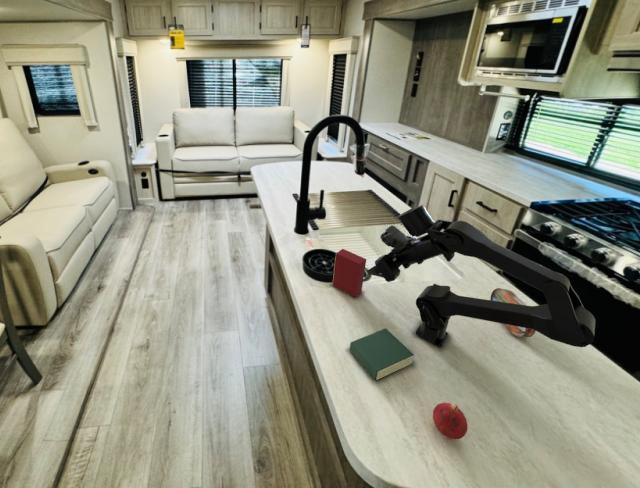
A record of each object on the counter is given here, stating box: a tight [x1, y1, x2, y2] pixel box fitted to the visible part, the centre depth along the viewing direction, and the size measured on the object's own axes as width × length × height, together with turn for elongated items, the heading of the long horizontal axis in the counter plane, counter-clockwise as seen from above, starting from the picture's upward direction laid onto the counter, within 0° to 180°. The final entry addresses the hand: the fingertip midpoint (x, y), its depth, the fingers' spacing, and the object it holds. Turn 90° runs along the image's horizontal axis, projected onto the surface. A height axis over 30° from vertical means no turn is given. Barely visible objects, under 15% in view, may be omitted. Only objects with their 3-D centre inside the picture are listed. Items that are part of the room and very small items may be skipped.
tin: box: [489, 287, 536, 338], centre depth 88 cm, size 15×3×8 cm, turn 171°
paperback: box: [332, 248, 367, 299], centre depth 102 cm, size 9×4×13 cm, turn 42°
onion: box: [432, 402, 469, 440], centre depth 62 cm, size 6×6×8 cm
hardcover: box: [349, 327, 415, 381], centre depth 79 cm, size 12×9×3 cm
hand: (375, 265), depth 94 cm, fingers open, 9 cm apart
